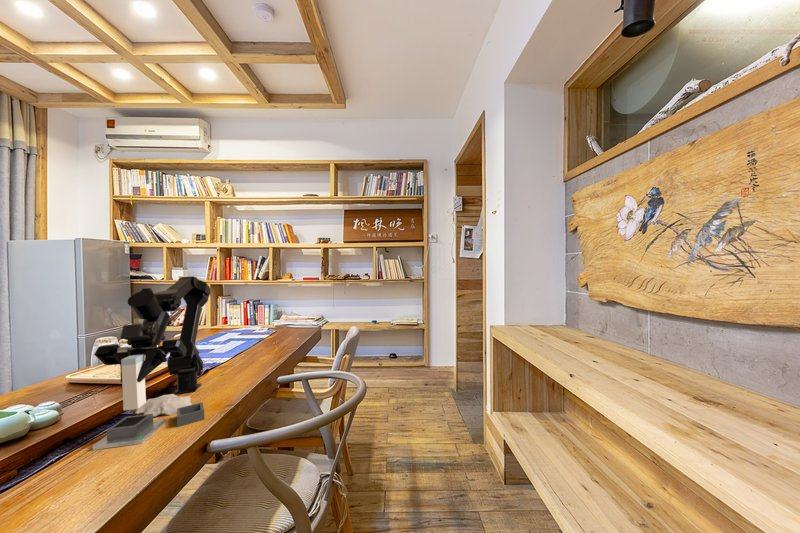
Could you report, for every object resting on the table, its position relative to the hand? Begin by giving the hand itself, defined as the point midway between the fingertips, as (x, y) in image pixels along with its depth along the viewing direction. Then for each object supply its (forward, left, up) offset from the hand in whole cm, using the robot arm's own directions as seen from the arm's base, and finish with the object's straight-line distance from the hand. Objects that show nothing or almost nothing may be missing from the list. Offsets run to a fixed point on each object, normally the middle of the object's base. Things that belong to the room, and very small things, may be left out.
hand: (130, 382), depth 77 cm
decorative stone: (-15, +1, -14) cm, 21 cm away
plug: (-1, 0, -7) cm, 7 cm away
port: (-1, -1, -14) cm, 14 cm away
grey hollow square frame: (-6, +10, -14) cm, 18 cm away
